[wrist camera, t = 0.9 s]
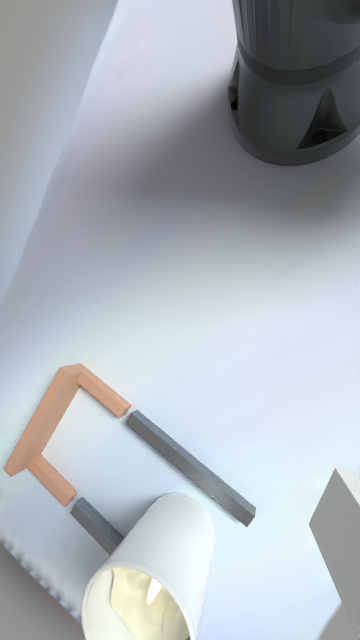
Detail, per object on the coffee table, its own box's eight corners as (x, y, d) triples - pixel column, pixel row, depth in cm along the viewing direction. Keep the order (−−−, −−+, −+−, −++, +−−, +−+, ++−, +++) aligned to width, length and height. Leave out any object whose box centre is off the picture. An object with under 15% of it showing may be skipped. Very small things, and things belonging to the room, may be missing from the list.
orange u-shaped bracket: (81, 363, 38) (60, 367, 35) (131, 405, 36) (114, 414, 32) (28, 455, 41) (3, 468, 37) (72, 500, 38) (50, 519, 34)
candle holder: (144, 562, 35) (81, 676, 23) (141, 480, 35) (78, 552, 24) (224, 580, 32) (197, 722, 20) (220, 491, 32) (192, 580, 21)
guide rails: (137, 410, 36) (131, 413, 34) (255, 507, 31) (254, 516, 30) (77, 505, 38) (69, 512, 37) (179, 610, 33) (175, 622, 32)
